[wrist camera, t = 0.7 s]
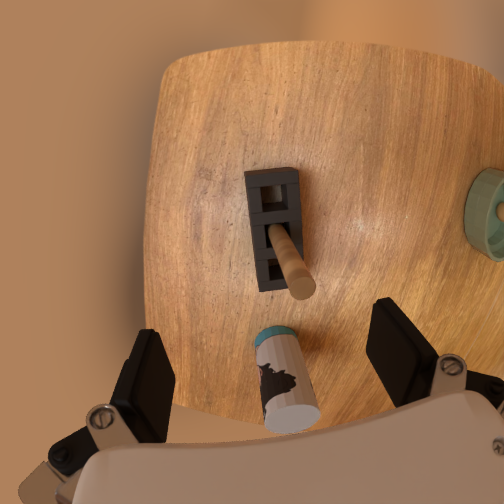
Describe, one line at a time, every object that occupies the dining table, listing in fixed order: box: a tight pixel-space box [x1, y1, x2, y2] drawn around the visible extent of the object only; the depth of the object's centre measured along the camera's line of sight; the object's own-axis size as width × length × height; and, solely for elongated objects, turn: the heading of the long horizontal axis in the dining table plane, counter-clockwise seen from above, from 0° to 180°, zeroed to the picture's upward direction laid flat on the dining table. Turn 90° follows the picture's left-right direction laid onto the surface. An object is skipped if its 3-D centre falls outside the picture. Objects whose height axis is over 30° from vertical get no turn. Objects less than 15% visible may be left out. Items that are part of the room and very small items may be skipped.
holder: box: [244, 167, 304, 292], centre depth 33 cm, size 14×6×4 cm, turn 6°
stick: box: [265, 223, 316, 300], centre depth 28 cm, size 2×2×16 cm
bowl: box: [464, 168, 504, 262], centre depth 34 cm, size 15×15×6 cm
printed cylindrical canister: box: [255, 326, 320, 434], centre depth 36 cm, size 7×7×15 cm
